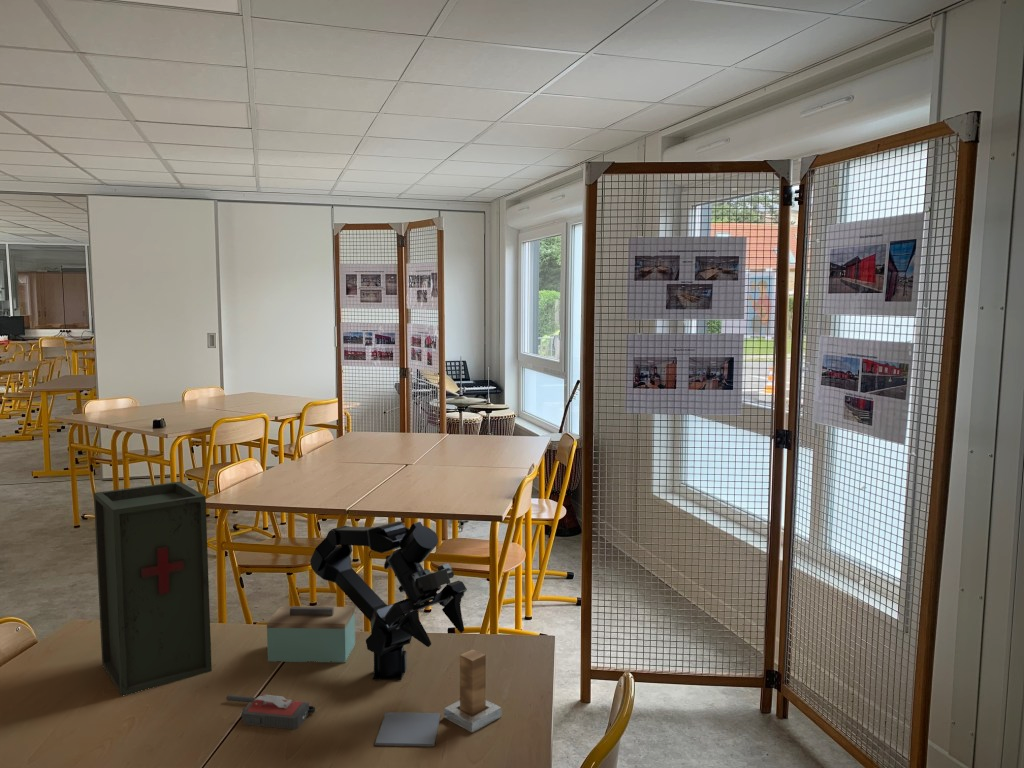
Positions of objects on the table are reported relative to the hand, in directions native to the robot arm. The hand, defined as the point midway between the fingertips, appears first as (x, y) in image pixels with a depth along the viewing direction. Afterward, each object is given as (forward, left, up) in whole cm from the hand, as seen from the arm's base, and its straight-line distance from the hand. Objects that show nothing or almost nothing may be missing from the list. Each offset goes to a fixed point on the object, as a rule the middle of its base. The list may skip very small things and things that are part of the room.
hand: (446, 638), depth 159 cm
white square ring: (+6, -6, -14) cm, 16 cm away
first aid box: (-67, +13, -14) cm, 70 cm away
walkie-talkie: (-36, -6, -14) cm, 39 cm away
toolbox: (-34, +22, -14) cm, 43 cm away
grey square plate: (-6, -11, -14) cm, 18 cm away
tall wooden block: (+6, -6, -14) cm, 16 cm away
